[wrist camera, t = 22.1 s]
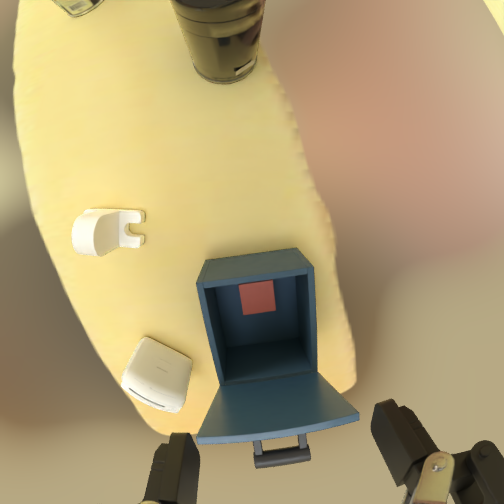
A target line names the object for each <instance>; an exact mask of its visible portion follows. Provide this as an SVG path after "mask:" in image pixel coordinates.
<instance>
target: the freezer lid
mask: <svg viewBox="0 0 504 504" xmlns="http://www.w3.org/2000/svg"><path fill="white" fill-rule="evenodd" d="M358 420H359V412H358V411H357V410H356V409H355V408H354V407H353V406H352V405H351V404H349V403H348V401H346V399H345V398H344V397H343V396H342V395H341V394H340V393H338V392H337V391H336V390H335V389H334V388H333V387H332V386H331V385H330V384H329V383H328V382H327V381H326V380H325V379H324V377H323V376H322V375H321V374H320V373H319V372H315V373H310V374H304V375H299V376H293V377H287V378H281V379H275V380H268V381H261V382H253V383H245V384H235V385H225V386H220V387H219V389H218V391H217V393H216V395H215V398H214V400H213V402H212V404H211V406H210V408H209V411H208V413H207V415H206V417H205V419H204V421H203V424H202V426H201V428H200V430H199V432H198V434H197V436H196V439H197V443H198V444H225V443H239V442H249V441H253V446H254V451H255V452H254V464H255V467H256V469H258V468H267V467H275V466H282V465H288V464H294V463H300V462H305V461H310V460H311V454H310V449H309V446H308V444H307V439H306V433H310V432H315V431H319V430H324V429H328V428H332V427H336V426H340V425H344V424H348V423H351V422H355V421H358ZM293 435H298V443H299V445H298V446H292V447H287V448H280V449H273V450H265V451H263V449H262V444H261V440H268V439H275V438H282V437H288V436H293Z"/></svg>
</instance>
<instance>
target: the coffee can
mask: <svg viewBox="0 0 504 504" xmlns="http://www.w3.org/2000/svg"><path fill="white" fill-rule="evenodd" d="M52 1H53V2H54V3H55V4H57V5H58V6H59V7H60V8H61V9H62V10H64V11H65V12H66V13H67V14H68V15H69V16H71V17H78V16H81V15H83V14H86V13H88V12H89V11H91V10H93V9H94V8H95V7H97V6H98V5H99V4H100V3H101V2H102V1H103V0H52Z"/></svg>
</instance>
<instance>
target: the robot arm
mask: <svg viewBox="0 0 504 504" xmlns="http://www.w3.org/2000/svg"><path fill="white" fill-rule="evenodd" d="M265 1H266V0H170V2H171V4H172V7H173V10H174V12H175V15H176V17H177V20H178V22H179V25H180V28H181V30H182V33H183V36H184V38H185V41H186V43H187V46H188V49H189V51H190V54H191V57H192V60H193V64H194V67H195V69H196V71H197V73H198V74H199V75H200V76H201V77H202V78H204V79H205V80H207V81H210V82H213V83H217V84H229V83H234V82H237V81H239V80H241V79H243V78H245V77H246V76H247V75H249V74H250V73H251V71H252V70H253V69H254V67H255V64H256V60H257V50H258V44H259V38H260V31H261V25H262V19H263V13H264V7H265ZM371 432H372V435H373V437H374V439H375V442H376V444H377V446H378V448H379V450H380V452H381V454H382V456H383V458H384V460H385V462H386V464H387V466H388V468H389V470H390V473H391V475H392V477H393V479H394V481H395V483H396V485H397V487H398V486H401V485H403V484H405V485H406V487H407V490H406V492H405V495H404V497H403V500H402V503H401V504H447V498H448V494H449V493H450V494H451V496H452V498H453V500H454V502H455V504H504V458H503V456H502V455H501V453H500V452H499V450H498V449H497V447H496V446H495V444H494V443H492V442H491V441H487V440H483V441H480V442H478V443H476V444H475V445H474V447H473V448H472V449H471V450H469V451H465V452H461V453H457V454H449V453H447V452H443V451H440V450H439V449H438V448H437V446H436V445H435V443H434V442H433V440H432V439H431V437H430V436H429V434H428V433H427V431H426V430H425V428H424V427H423V426H422V424H421V422H420V421H419V420H418V418H417V416H416V415H415V414H414V412H413V411H412V410H410V409H409V408H407V407H406V406H401V407H398V405H397V404H396V403H395V401H394V400H393V399H389V400H386V401H383V402H380V403H377V404H376V405H375V407H374V412H373V417H372V421H371ZM199 469H200V455H199V451H198V449H197V447H196V445H195V443H194V441H193V439H192V437H191V435H190V433H172V434H171V436H170V440H169V444H163V443H162V444H161V445H160V446H159V448H158V449H157V450H156V451H155V454H154V458H153V463H152V466H151V471H150V475H149V479H148V483H147V488H146V492H145V496H144V499H143V501H142V502H140V503H139V504H196V502H197V490H198V479H199Z"/></svg>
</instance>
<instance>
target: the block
mask: <svg viewBox="0 0 504 504" xmlns="http://www.w3.org/2000/svg"><path fill="white" fill-rule="evenodd" d="M239 291H240V297H241V303H242V309H243V315H248V314H256V313H263V312H269V311H276V305H275V296H274V288H273V280H272V279H270V280H263V281H256V282H249V283H242V284H239Z"/></svg>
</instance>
